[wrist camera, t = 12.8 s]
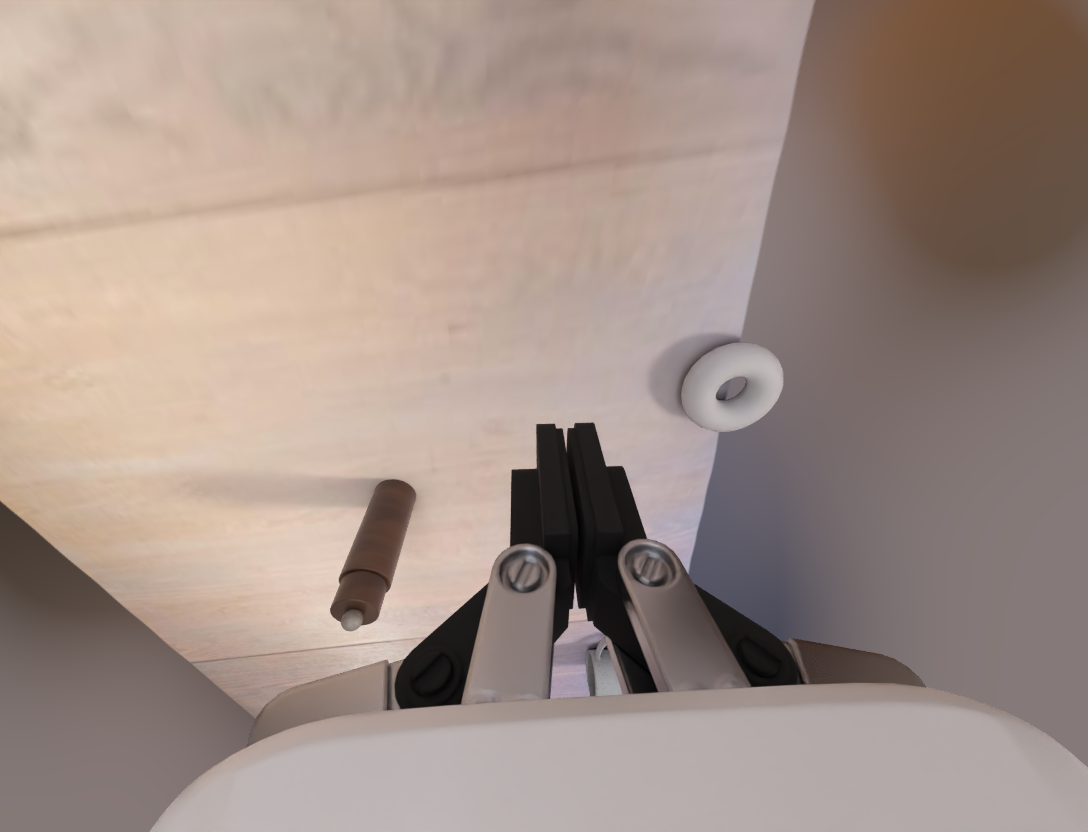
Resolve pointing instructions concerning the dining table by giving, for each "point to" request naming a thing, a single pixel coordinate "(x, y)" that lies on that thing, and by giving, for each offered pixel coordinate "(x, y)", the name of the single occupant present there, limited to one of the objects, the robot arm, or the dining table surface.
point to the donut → (722, 367)
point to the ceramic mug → (601, 672)
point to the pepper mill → (373, 555)
